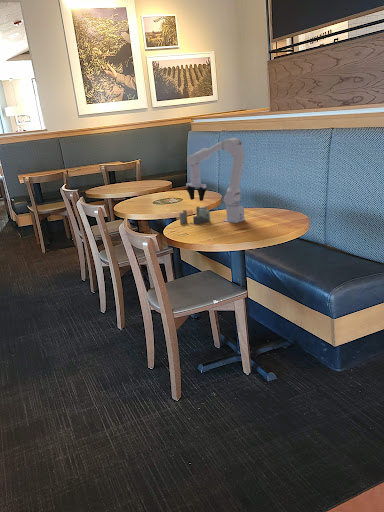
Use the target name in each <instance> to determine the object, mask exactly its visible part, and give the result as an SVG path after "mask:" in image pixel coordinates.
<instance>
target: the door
mask: <svg viewBox="0 0 384 512" xmlns="http://www.w3.org/2000/svg"><path fill="white" fill-rule="evenodd" d="M198 216H202V217H203V218H206V219H209V220H210V221H211V211H210V210H208V209H207V210H201V209H198Z"/></svg>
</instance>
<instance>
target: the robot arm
mask: <svg viewBox="0 0 384 512" xmlns="http://www.w3.org/2000/svg"><path fill="white" fill-rule="evenodd" d="M220 150H222V151H223V150H224V151H226V152H227V153H228V154H230V156H231V158H233V160H232V166H231V174H230V180H229V185H228V188H227V190H226V191H225V195H224V197H223V203H224V204H225V206H226V207H225V209H226V211H225V212H226V219H223V222H229V223H234V224H239V223H241V222H243V221H246V218H245V208H244V206H242V205H240V201H241V199H242V195H241V192H242V191H241V188H240V185H241V177H242V172H243V166H244V161H245V151H244V148H243V142H242V141H241V139H240V138H238V137H232V138H225V139H224V140H221V141H218V142H217V143H215V144H214V145H213V146H210V147H209V148H207V147H202V148H200V150H199V151H195V152H194V154H189V155H188V156H187V157H186V162H187V164H188V165H189V166H188V167H189V178H190V182H188V183H187V182H186V184H185V190H186V191H187V193H188V195H189V199H190V200H194V199H195V189H196V191H197V193H198V198H199V202H202V201H204V198H205V194H206V192H207V184H206V183H205V184H204V183H202V181H201V180H202V179H201V178H202V177H201V168H200V167H201V163H202V162H204V161H206V160H208V159H210V158H211V157H212V156H211V155H212V154H215V153H217V152H219V151H220Z"/></svg>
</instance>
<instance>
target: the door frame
mask: <svg viewBox="0 0 384 512" xmlns="http://www.w3.org/2000/svg"><path fill="white" fill-rule="evenodd" d="M195 208H196V216H198V209H201V210H208V206H206V205H205V206H201V207H200V206H196V207H195ZM179 222H180V224H181V225H183V224H187V223H188V214H187V209H182V212H180V213H179Z"/></svg>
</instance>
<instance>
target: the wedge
mask: <svg viewBox="0 0 384 512" xmlns="http://www.w3.org/2000/svg"><path fill="white" fill-rule="evenodd" d="M192 218H193V219H192V220H193V224H195V225H199V226H200V225H203V224H205V223H208V222H209V223H210V221H211V219H210V220H209V219H206V218H203V217H202V216H197V215H194V216H193V217H192Z"/></svg>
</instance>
